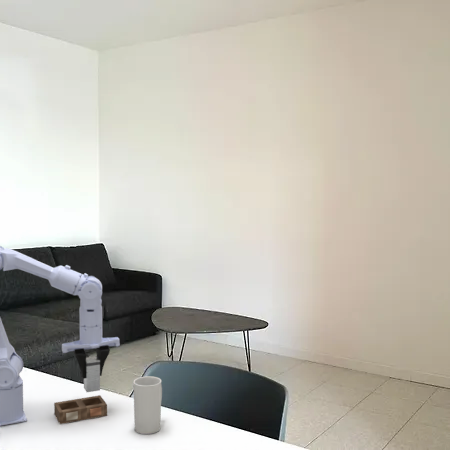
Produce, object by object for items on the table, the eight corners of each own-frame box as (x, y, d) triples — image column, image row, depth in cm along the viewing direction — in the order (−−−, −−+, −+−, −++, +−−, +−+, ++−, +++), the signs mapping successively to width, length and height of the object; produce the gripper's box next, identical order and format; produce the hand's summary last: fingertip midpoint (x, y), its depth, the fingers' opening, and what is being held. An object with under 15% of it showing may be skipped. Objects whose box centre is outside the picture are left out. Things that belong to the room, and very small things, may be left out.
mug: (152, 437, 134) (152, 387, 133) (128, 431, 137) (127, 383, 136) (172, 421, 143) (172, 374, 142) (150, 416, 146) (149, 370, 145)
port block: (59, 424, 140) (59, 412, 140) (54, 413, 147) (54, 402, 147) (107, 416, 146) (107, 404, 146) (100, 406, 152) (100, 395, 152)
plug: (86, 392, 145) (86, 361, 144) (83, 387, 148) (83, 357, 147) (100, 390, 146) (99, 360, 145) (96, 385, 149) (96, 356, 149)
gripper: (65, 331, 139) (66, 385, 140) (122, 325, 146) (123, 376, 147) (59, 324, 145) (60, 376, 146) (115, 319, 152) (115, 368, 153)
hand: (91, 376), depth 147 cm, fingers closed on plug, 3 cm apart
